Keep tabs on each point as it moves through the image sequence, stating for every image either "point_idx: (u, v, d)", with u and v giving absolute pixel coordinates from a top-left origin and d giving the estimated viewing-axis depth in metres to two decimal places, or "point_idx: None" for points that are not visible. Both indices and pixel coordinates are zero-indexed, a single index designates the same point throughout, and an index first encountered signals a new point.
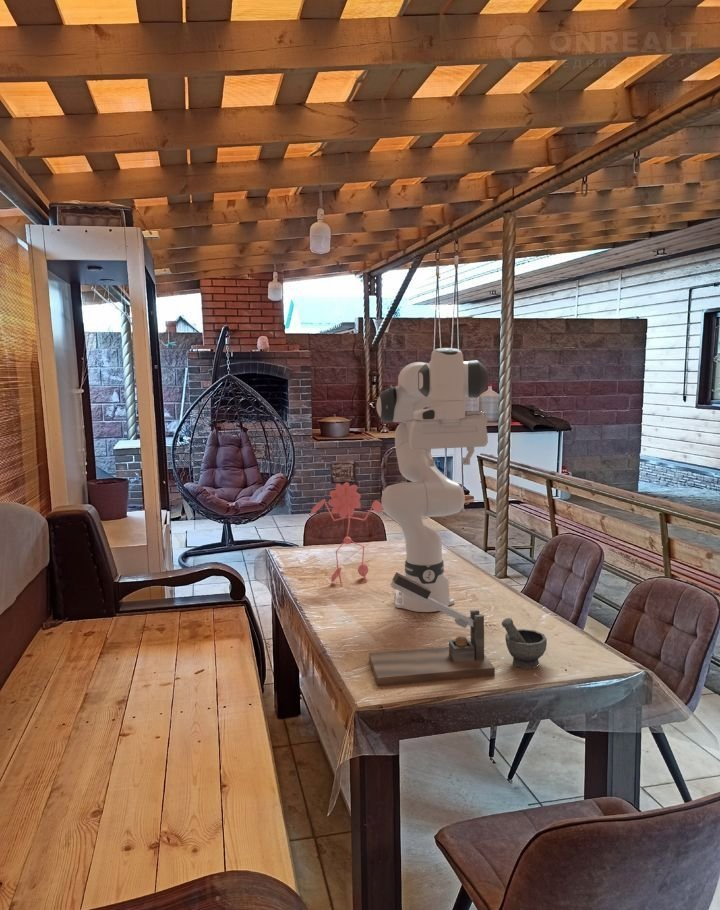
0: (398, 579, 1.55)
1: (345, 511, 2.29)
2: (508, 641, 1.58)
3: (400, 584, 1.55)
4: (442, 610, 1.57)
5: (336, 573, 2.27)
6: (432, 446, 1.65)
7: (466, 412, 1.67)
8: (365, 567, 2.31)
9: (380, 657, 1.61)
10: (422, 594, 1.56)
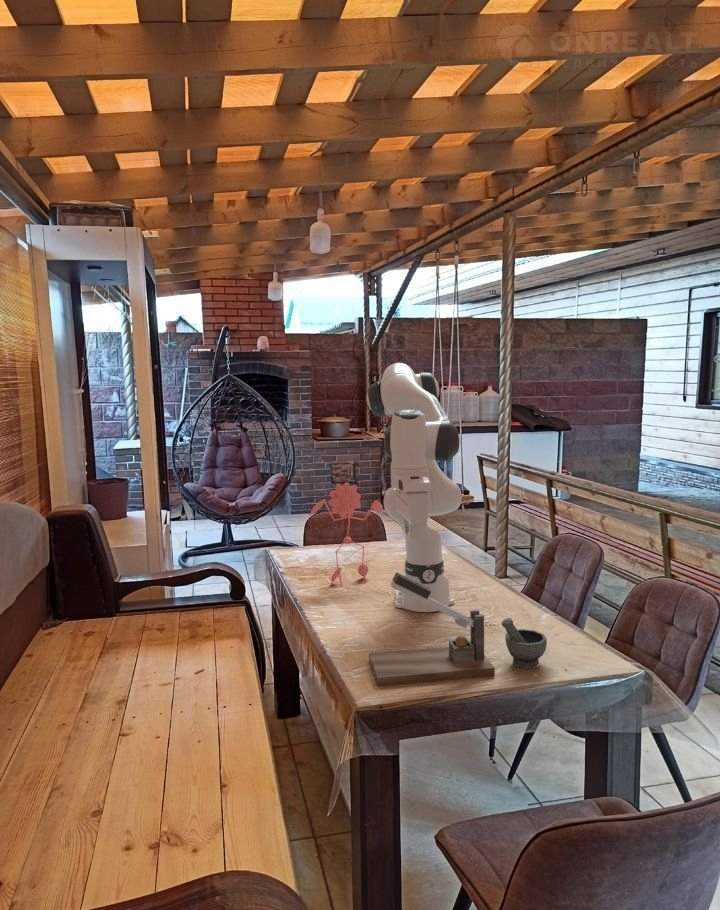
0: (398, 579, 1.55)
1: (345, 511, 2.29)
2: (508, 641, 1.58)
3: (400, 584, 1.55)
4: (442, 610, 1.57)
5: (336, 573, 2.27)
6: None
7: None
8: (365, 567, 2.31)
9: (380, 657, 1.61)
10: (422, 594, 1.56)
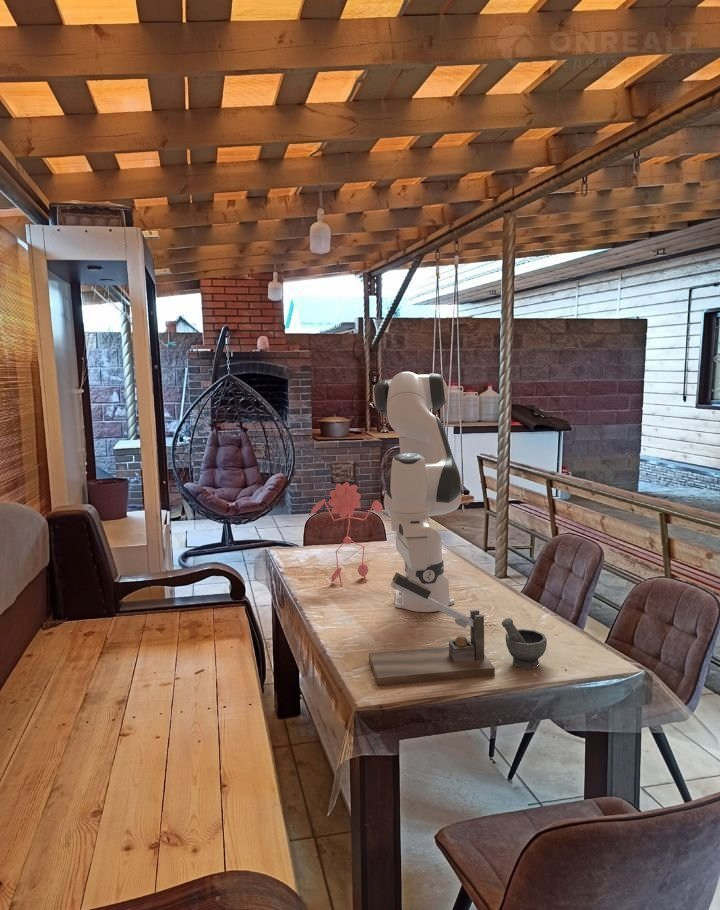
0: (398, 579, 1.55)
1: (345, 511, 2.29)
2: (508, 641, 1.58)
3: (400, 584, 1.55)
4: (442, 610, 1.57)
5: (336, 573, 2.27)
6: None
7: None
8: (365, 567, 2.31)
9: (380, 657, 1.61)
10: (422, 594, 1.56)
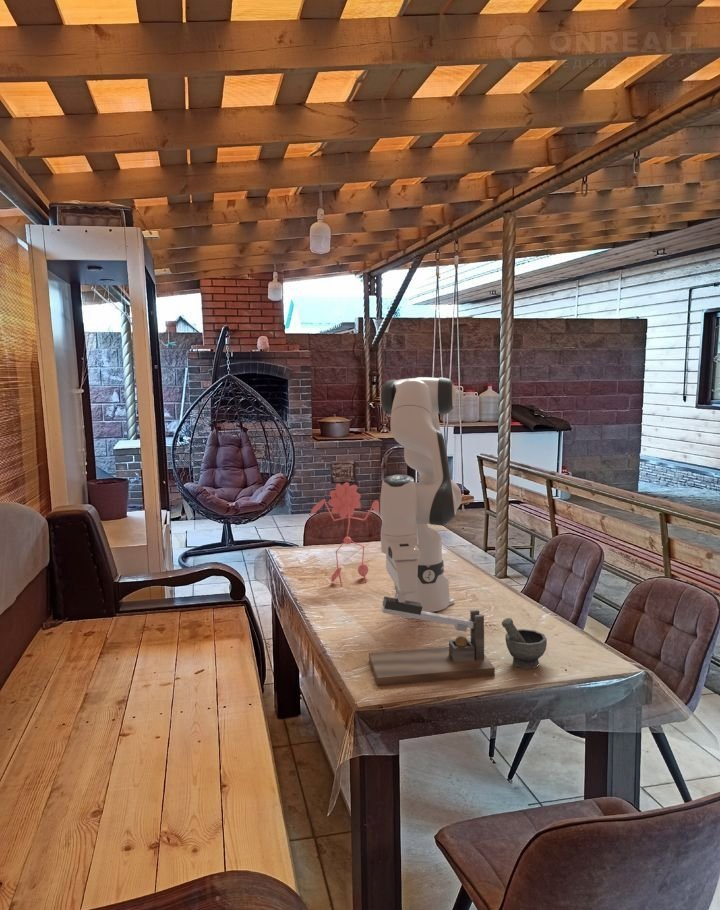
0: (387, 603, 1.55)
1: (345, 511, 2.29)
2: (508, 641, 1.58)
3: (390, 608, 1.55)
4: (438, 621, 1.57)
5: (336, 573, 2.27)
6: None
7: None
8: (365, 567, 2.31)
9: (380, 657, 1.61)
10: (414, 611, 1.56)
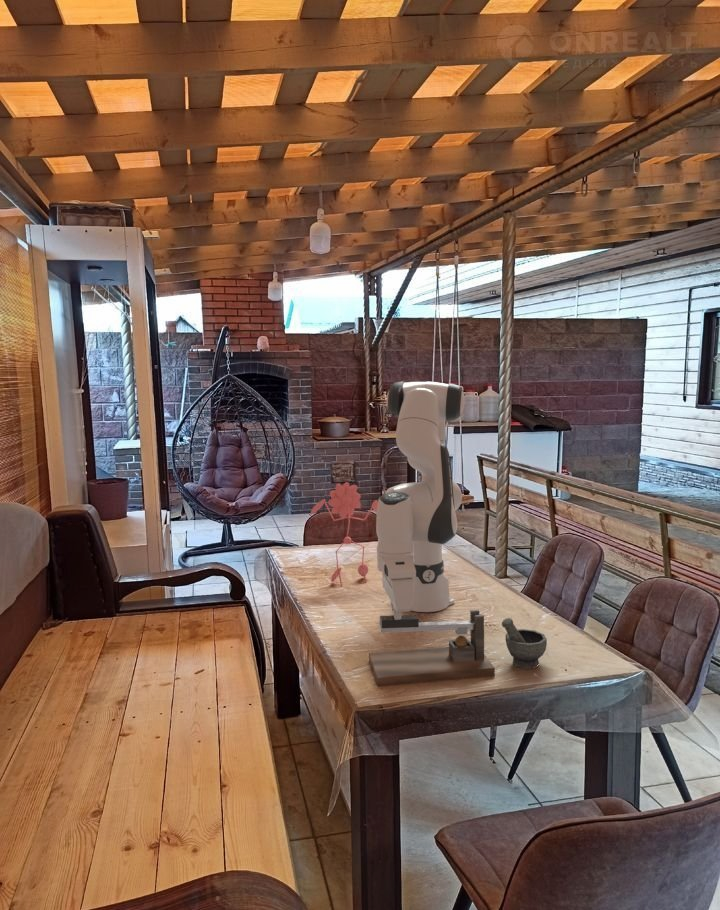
0: (383, 623, 1.55)
1: (345, 511, 2.29)
2: (508, 641, 1.58)
3: (387, 626, 1.55)
4: (438, 629, 1.58)
5: (336, 573, 2.27)
6: None
7: None
8: (365, 567, 2.31)
9: (380, 657, 1.61)
10: (412, 625, 1.56)
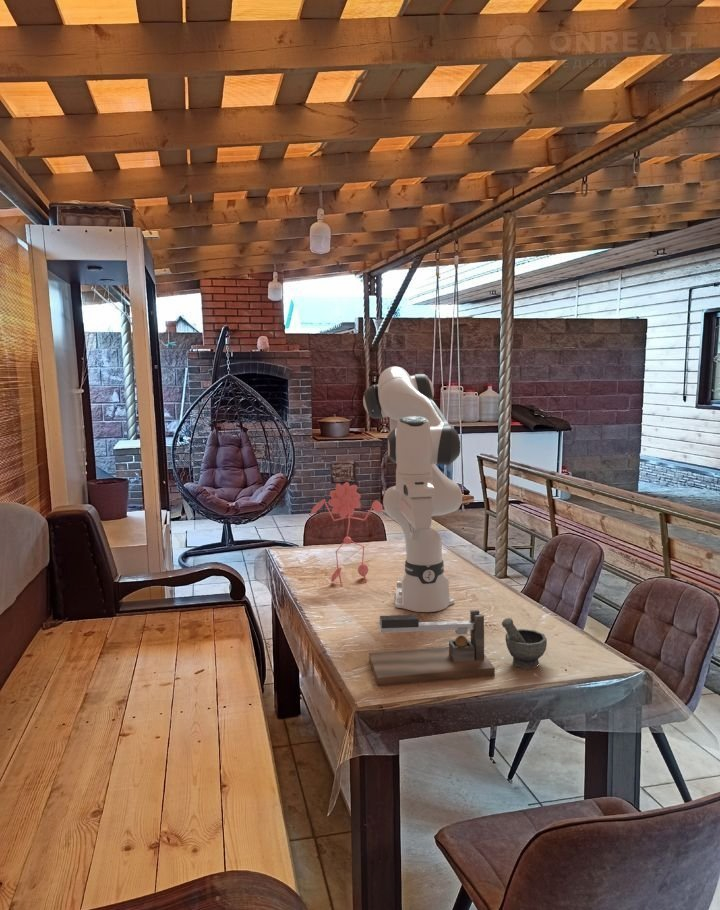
0: (383, 623, 1.55)
1: (345, 511, 2.29)
2: (508, 641, 1.58)
3: (387, 626, 1.55)
4: (438, 629, 1.58)
5: (336, 573, 2.27)
6: None
7: None
8: (365, 567, 2.31)
9: (380, 657, 1.61)
10: (412, 625, 1.56)
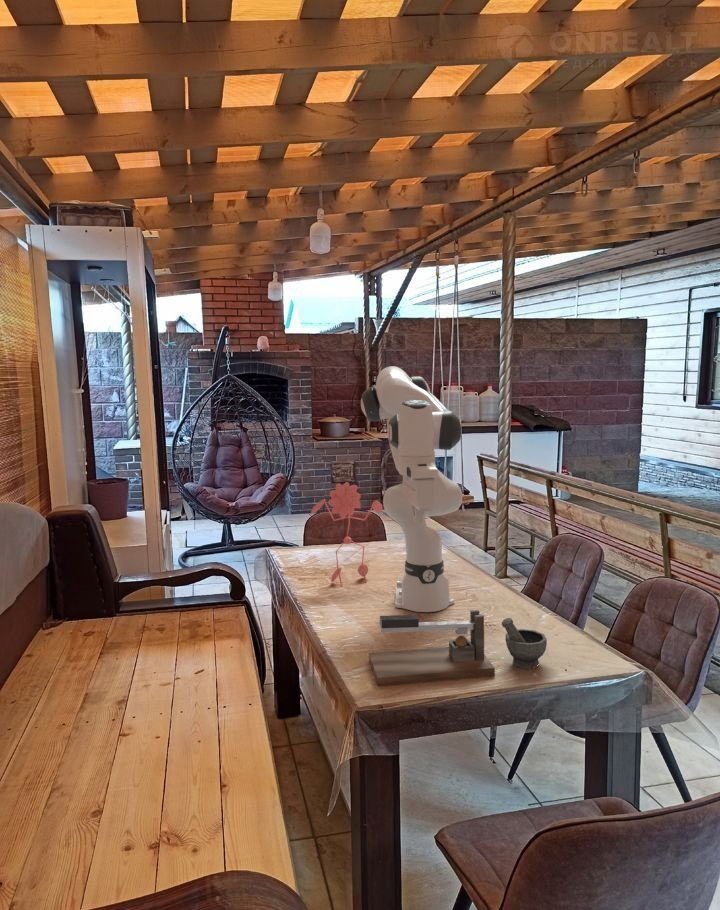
0: (383, 623, 1.55)
1: (345, 511, 2.29)
2: (508, 641, 1.59)
3: (387, 626, 1.55)
4: (438, 629, 1.58)
5: (336, 573, 2.27)
6: None
7: None
8: (365, 567, 2.31)
9: (380, 657, 1.61)
10: (412, 625, 1.56)
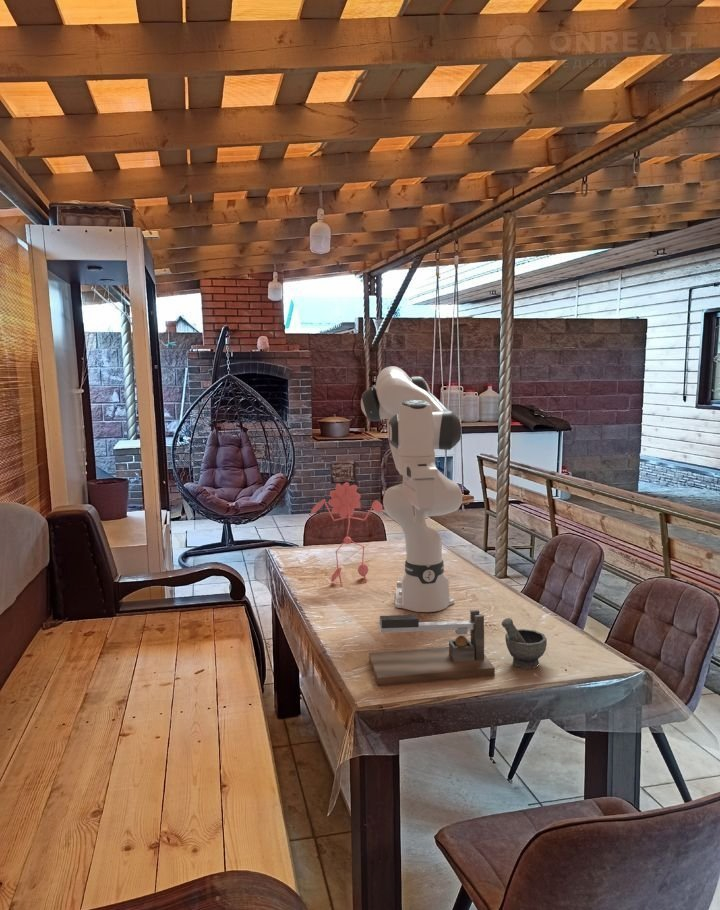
0: (383, 623, 1.55)
1: (345, 511, 2.29)
2: (508, 641, 1.58)
3: (387, 626, 1.55)
4: (438, 629, 1.58)
5: (336, 573, 2.27)
6: None
7: None
8: (365, 567, 2.31)
9: (380, 657, 1.61)
10: (412, 625, 1.56)
